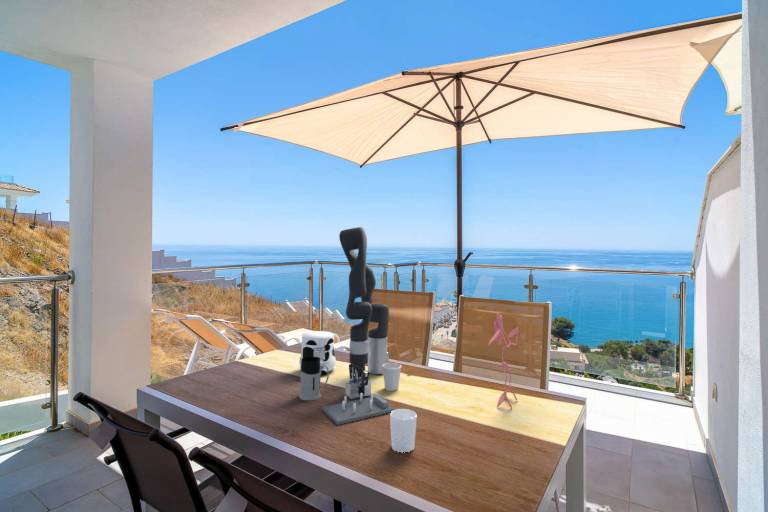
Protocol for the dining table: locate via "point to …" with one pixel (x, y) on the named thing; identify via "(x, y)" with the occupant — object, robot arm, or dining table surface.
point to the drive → (356, 389)
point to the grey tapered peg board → (357, 409)
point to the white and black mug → (311, 378)
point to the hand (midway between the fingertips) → (358, 392)
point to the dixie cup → (391, 375)
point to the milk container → (319, 348)
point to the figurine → (497, 337)
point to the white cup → (403, 429)
